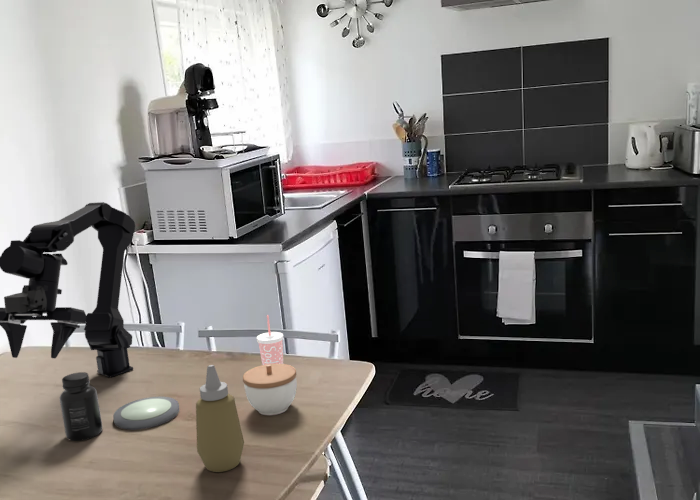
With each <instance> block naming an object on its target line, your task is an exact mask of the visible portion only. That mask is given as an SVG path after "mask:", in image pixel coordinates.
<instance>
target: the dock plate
mask: <svg viewBox="0 0 700 500" xmlns="http://www.w3.org/2000/svg"><path fill="white" fill-rule="evenodd" d="M179 413H180V405H179V401H178V400H177V399H176V398H173V397H169V396H149V397H144V398H139V399H135V400H132V401H129V402H128V403H125V404H124V405H122V406H120V407H118V408H117V409H116V410H115V411H114V413H113V416H112V417H113V423H114V425H115V426H116V427H117V428H119V429H123V430H131V431H133V430H134V431H136V430H145V429H150V428H154V427H158V426H161V425H163V424H165V423H167V422H169V421H171V420H173V419H175V417H177V415H178V414H179Z"/></svg>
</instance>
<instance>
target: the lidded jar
mask: <svg viewBox="0 0 700 500" xmlns="http://www.w3.org/2000/svg"><path fill="white" fill-rule="evenodd" d="M242 382H243V383H244V385H243V387H244V392H245V395H246V398H247V401H248V403H249V404H250V405H251V407H252V408H254V409H255V410H256V411H258V413H259V414H261V415H264V416H276V415H280V414H282V413H283V414H284V413H285V412H286V411H288V409H289V407H290V406H291V404H292V403H293V401H294V399H295V397H296V393H297V369H296V368H295V367H294V366H292V365H290V364H286V363H283V364H266V365H262V364H261V365H258V366H255V367H253V368H250V369H249V370H246V371H245V372H244V373H243V376H242Z"/></svg>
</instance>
